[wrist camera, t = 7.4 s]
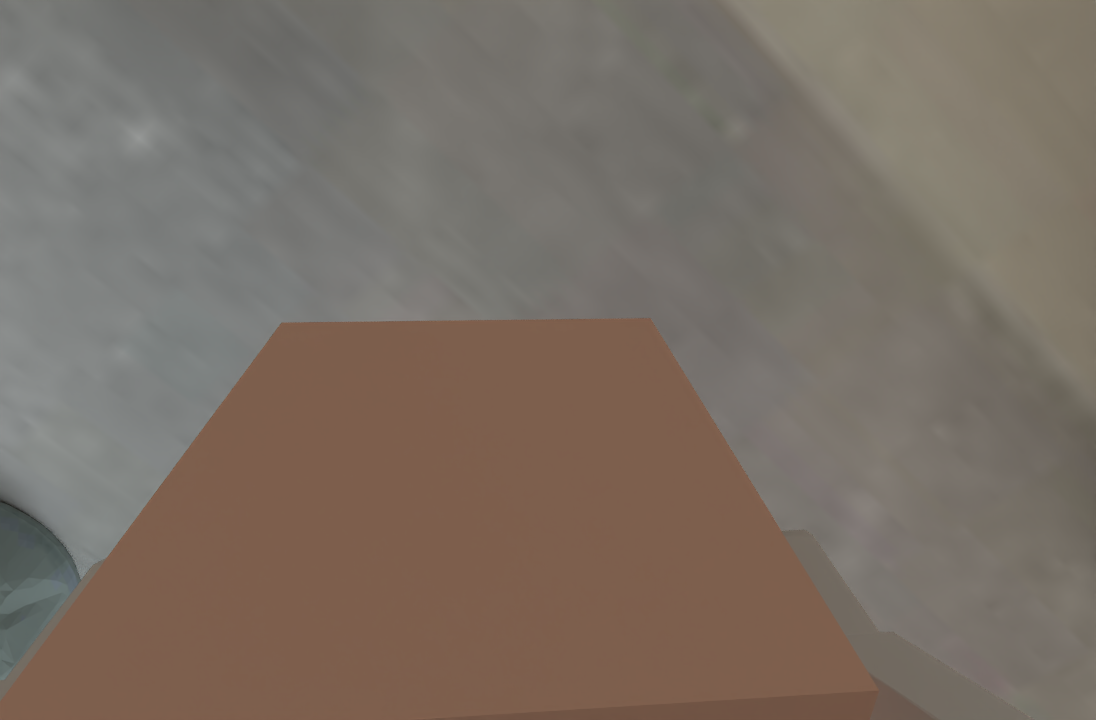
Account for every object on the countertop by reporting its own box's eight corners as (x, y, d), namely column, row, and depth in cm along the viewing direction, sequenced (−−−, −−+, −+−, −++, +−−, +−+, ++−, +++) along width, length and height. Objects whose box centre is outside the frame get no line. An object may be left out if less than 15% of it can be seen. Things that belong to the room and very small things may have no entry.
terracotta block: (650, 318, 9) (878, 690, 4) (625, 591, 11) (752, 1079, 6) (281, 322, 9) (-35, 747, 3) (326, 604, 11) (172, 1144, 6)
